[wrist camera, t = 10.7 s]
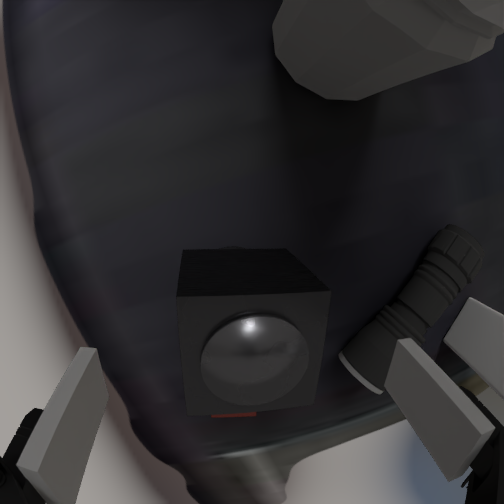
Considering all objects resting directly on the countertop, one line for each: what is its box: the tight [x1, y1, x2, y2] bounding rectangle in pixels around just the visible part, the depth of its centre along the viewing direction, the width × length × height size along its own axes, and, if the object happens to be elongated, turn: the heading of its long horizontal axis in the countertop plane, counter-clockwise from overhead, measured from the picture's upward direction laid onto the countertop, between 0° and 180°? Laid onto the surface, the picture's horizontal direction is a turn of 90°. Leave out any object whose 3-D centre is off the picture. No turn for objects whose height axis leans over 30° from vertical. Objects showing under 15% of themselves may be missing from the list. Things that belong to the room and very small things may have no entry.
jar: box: [272, 0, 504, 101], centre depth 12 cm, size 10×10×18 cm
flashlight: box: [339, 224, 485, 394], centre depth 24 cm, size 15×5×5 cm, turn 141°
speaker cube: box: [176, 248, 332, 416], centre depth 18 cm, size 7×7×8 cm
